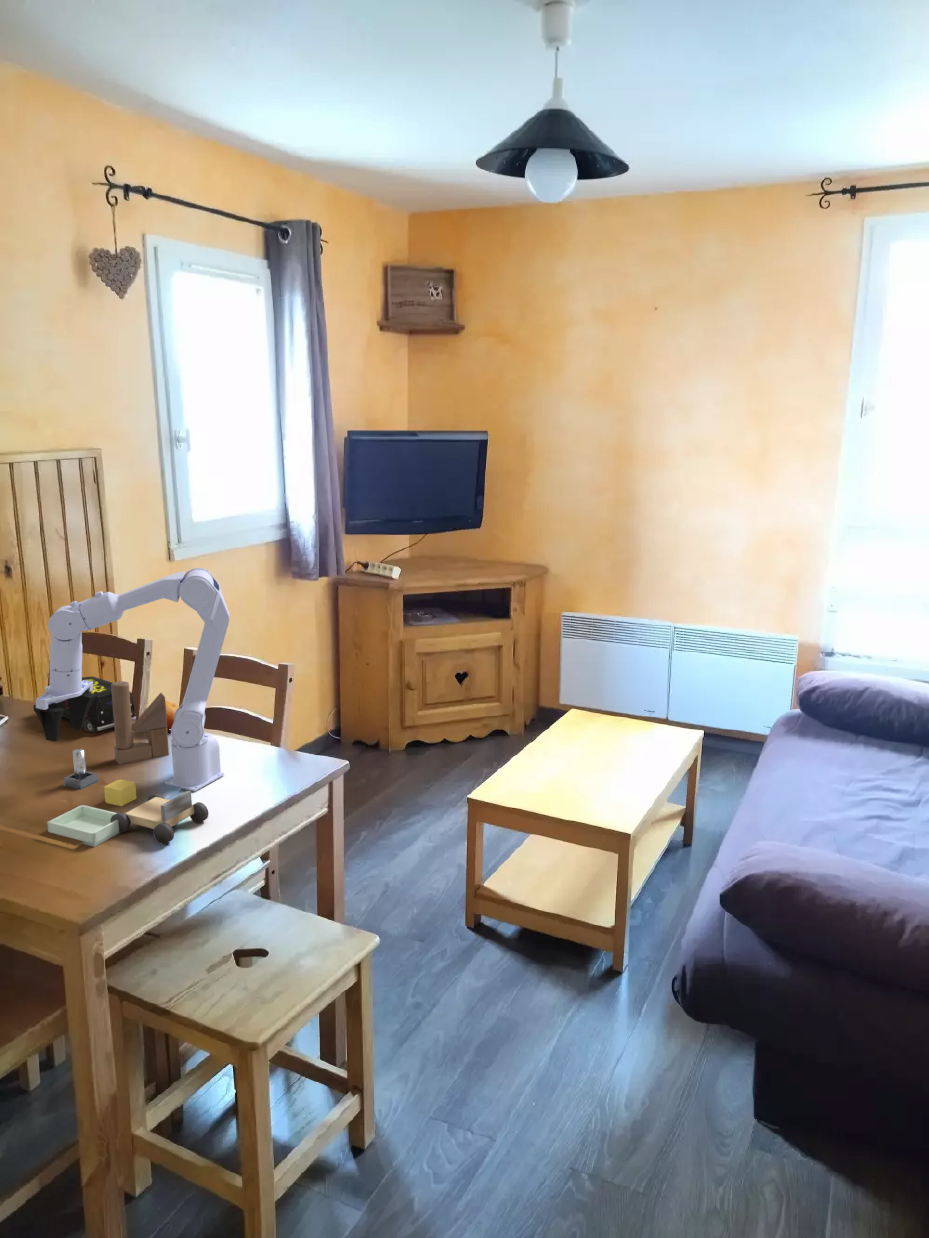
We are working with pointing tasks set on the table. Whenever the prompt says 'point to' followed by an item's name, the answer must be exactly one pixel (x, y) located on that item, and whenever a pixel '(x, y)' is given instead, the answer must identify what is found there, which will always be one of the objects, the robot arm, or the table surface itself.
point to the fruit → (170, 714)
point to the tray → (85, 825)
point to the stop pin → (79, 764)
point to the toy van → (98, 706)
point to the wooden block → (138, 727)
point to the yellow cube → (120, 792)
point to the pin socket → (81, 781)
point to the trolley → (162, 815)
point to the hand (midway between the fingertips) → (64, 734)
